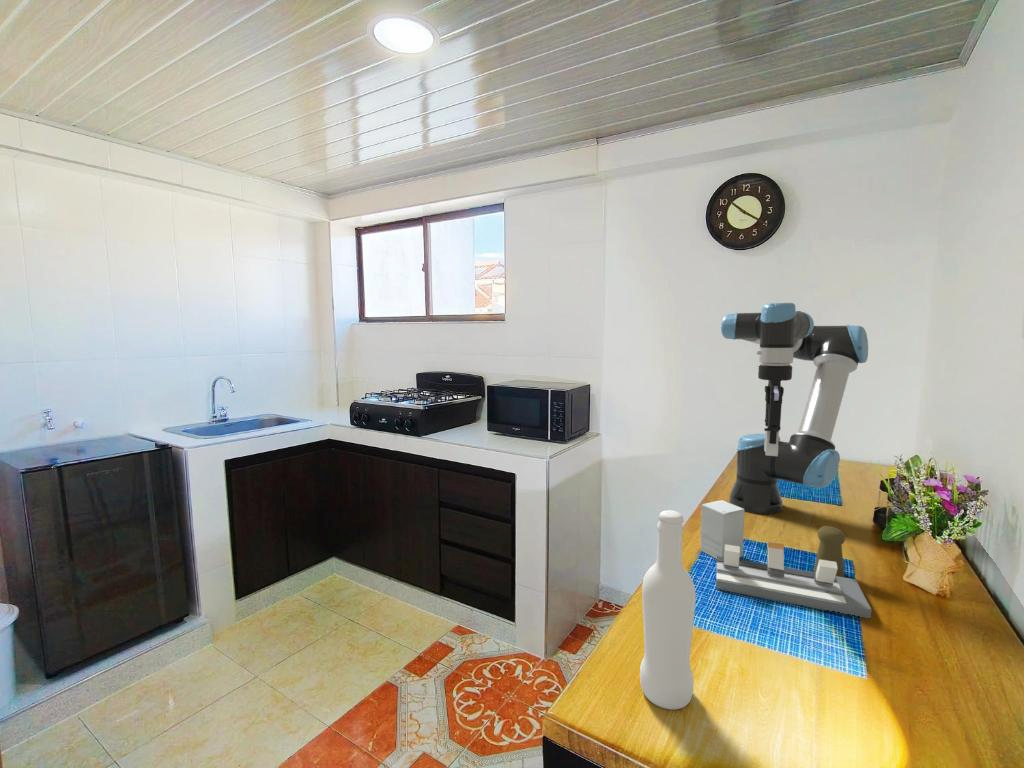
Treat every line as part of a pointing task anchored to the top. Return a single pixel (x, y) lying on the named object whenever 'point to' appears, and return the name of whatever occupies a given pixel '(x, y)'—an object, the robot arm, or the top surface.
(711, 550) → the supplement box
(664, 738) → the top surface
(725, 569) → the breaker panel
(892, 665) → the top surface
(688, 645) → the bottle
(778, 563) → the paddle
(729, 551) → the white block
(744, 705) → the top surface
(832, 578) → the white block
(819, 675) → the top surface
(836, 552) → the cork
